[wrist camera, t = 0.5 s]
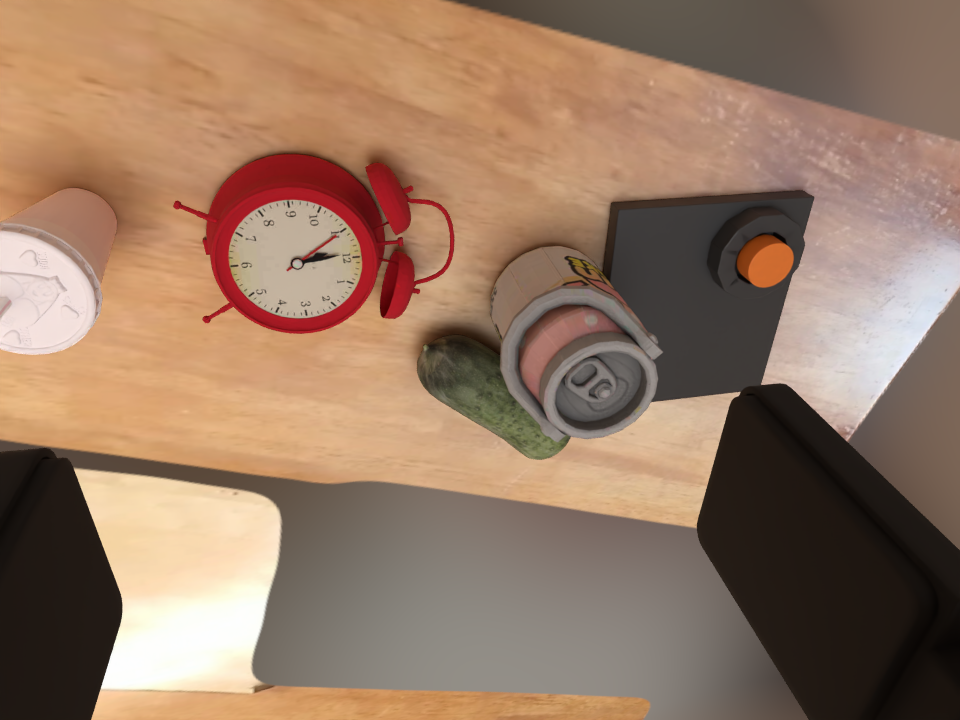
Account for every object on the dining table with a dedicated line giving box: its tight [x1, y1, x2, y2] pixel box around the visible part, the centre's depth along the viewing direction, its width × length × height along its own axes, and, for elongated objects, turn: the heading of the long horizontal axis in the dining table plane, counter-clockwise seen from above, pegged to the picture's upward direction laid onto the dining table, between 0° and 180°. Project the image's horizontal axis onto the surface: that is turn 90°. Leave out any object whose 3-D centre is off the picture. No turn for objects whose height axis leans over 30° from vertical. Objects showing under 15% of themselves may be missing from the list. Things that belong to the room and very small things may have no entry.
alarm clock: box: [173, 154, 454, 334], centre depth 40 cm, size 10×6×15 cm
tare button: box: [737, 234, 794, 288], centre depth 45 cm, size 3×3×2 cm
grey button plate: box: [603, 191, 814, 402], centre depth 48 cm, size 16×14×3 cm
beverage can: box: [490, 246, 663, 442], centre depth 42 cm, size 9×8×12 cm
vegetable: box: [417, 335, 570, 460], centre depth 48 cm, size 14×5×5 cm, turn 47°
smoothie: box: [0, 188, 117, 355], centre depth 33 cm, size 6×6×14 cm
